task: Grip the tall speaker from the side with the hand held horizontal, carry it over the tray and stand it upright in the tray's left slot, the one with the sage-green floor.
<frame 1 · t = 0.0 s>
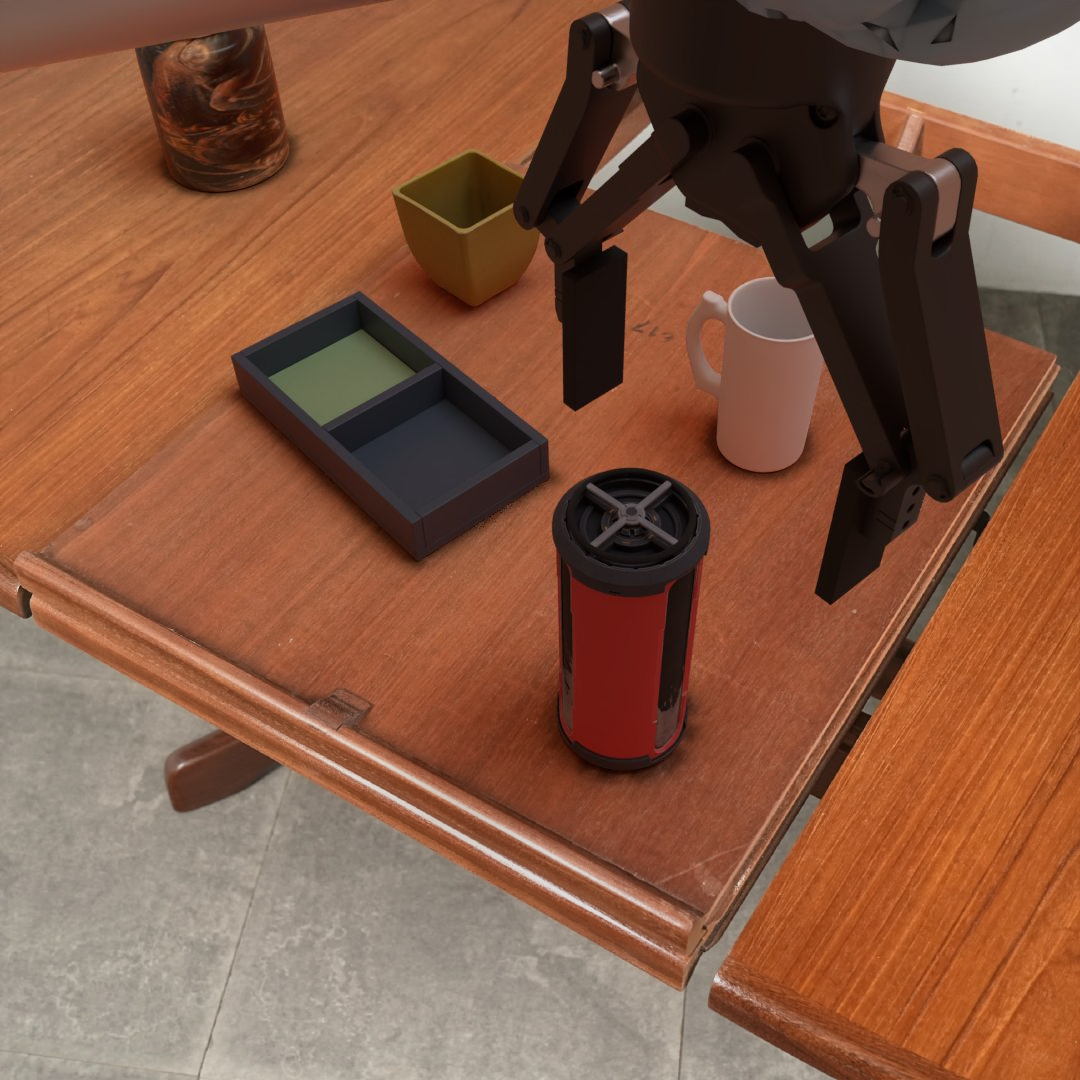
hand: (710, 480, 47), 27 cm above the table, tool pointing down, fingers open, 13 cm apart
tray: (389, 434, 88), on the table
jar: (229, 159, 114), on the table
speaker: (621, 719, 71), on the table
mug: (739, 435, 87), on the table
flower pot: (475, 285, 100), on the table
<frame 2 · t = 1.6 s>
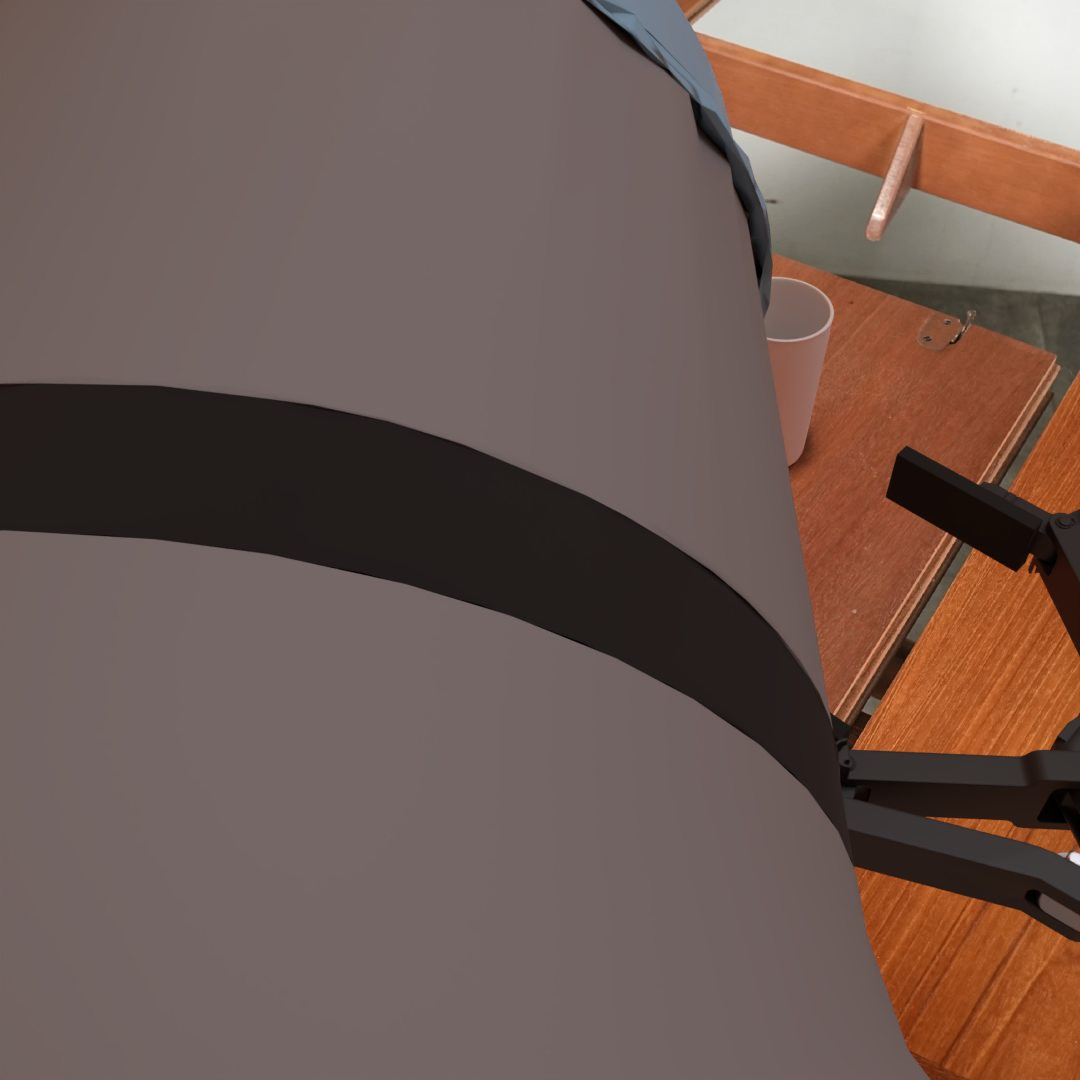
hand: (803, 557, 50), 22 cm above the table, tool horizontal, fingers open, 13 cm apart
nothing on the table moved.
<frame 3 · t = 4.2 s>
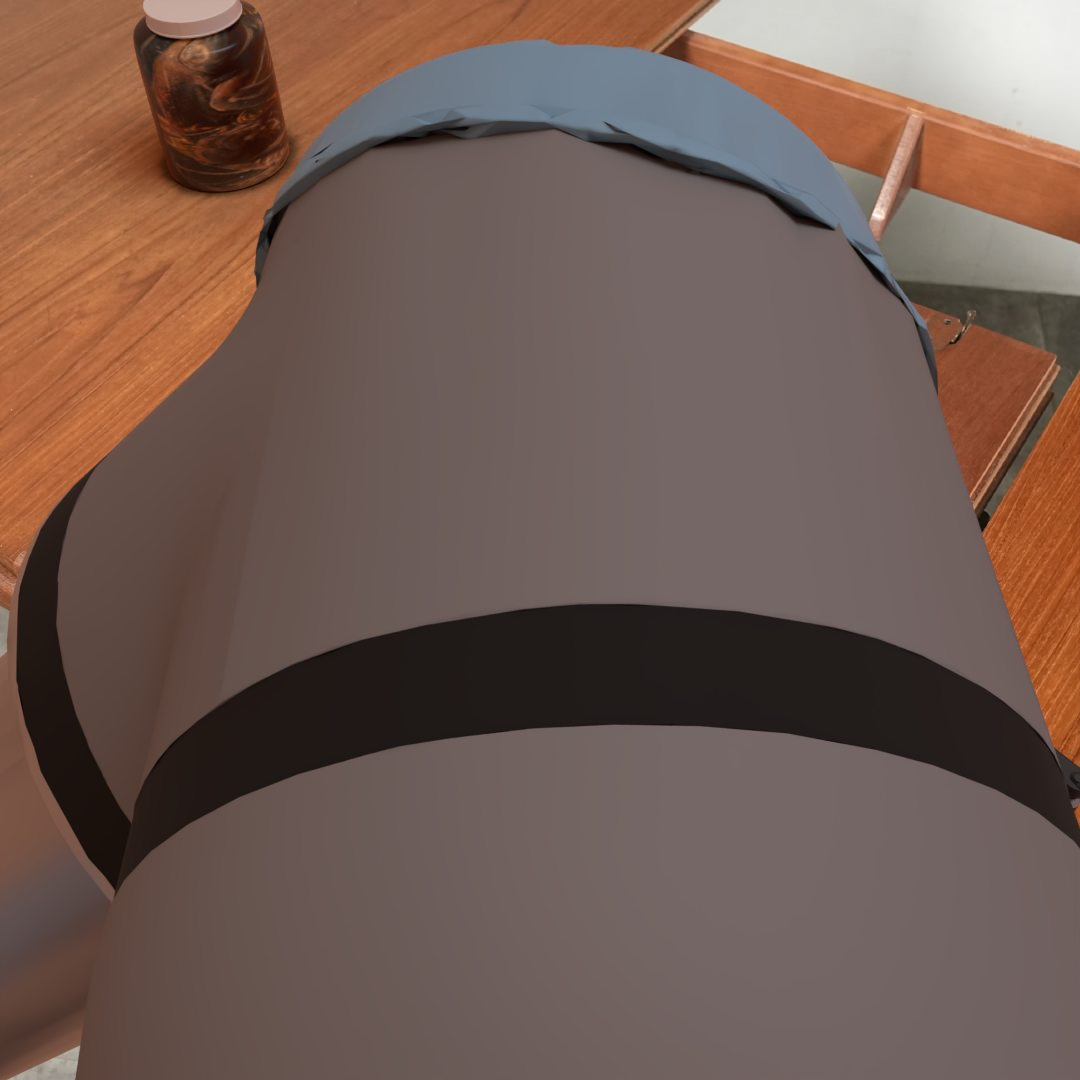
hand: (718, 678, 61), 10 cm above the table, tool horizontal, fingers open, 13 cm apart
nothing on the table moved.
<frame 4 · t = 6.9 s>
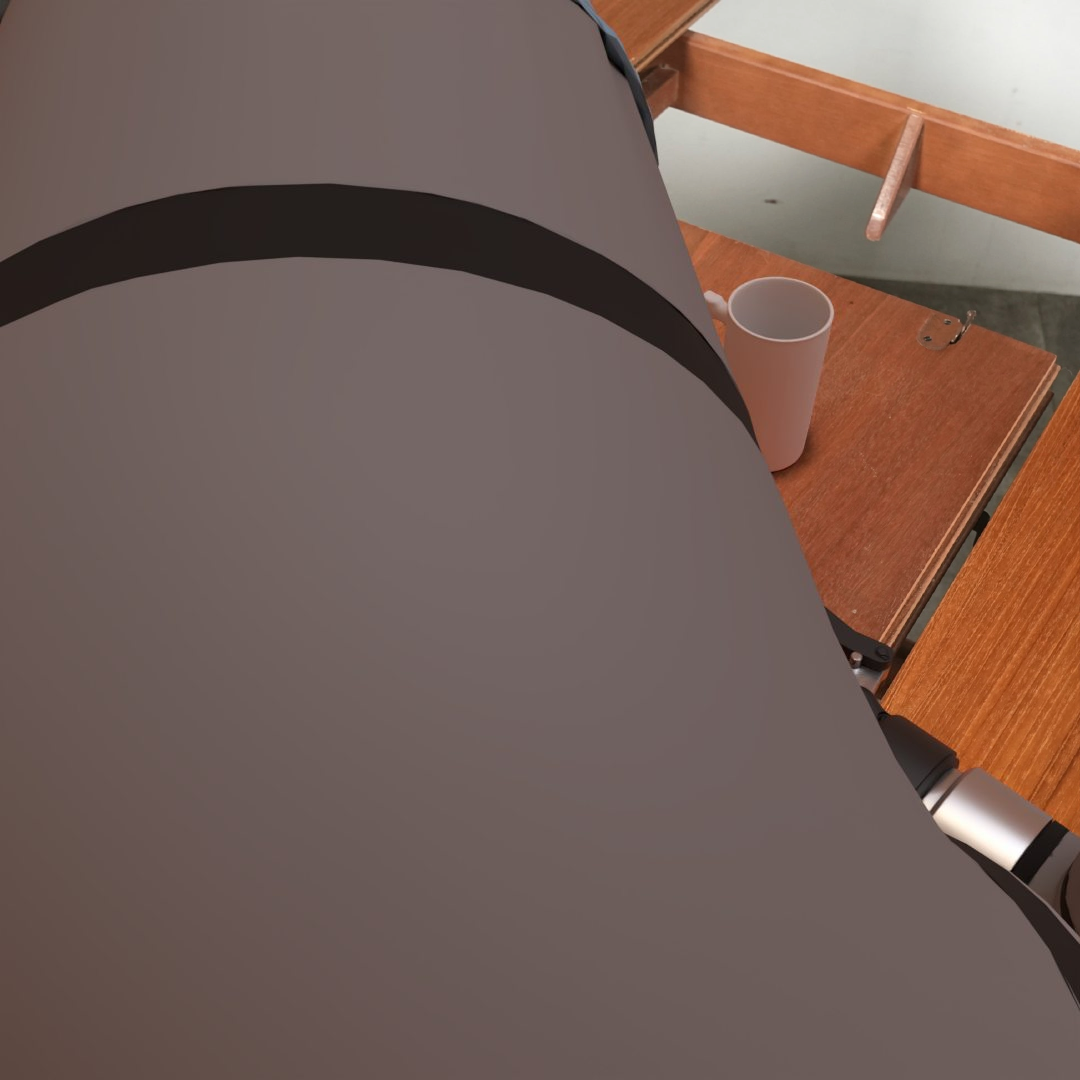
hand: (560, 565, 66), 10 cm above the table, tool horizontal, fingers closed on speaker, 7 cm apart
speaker: (621, 719, 71), on the table, touching gripper
everything else where it was.
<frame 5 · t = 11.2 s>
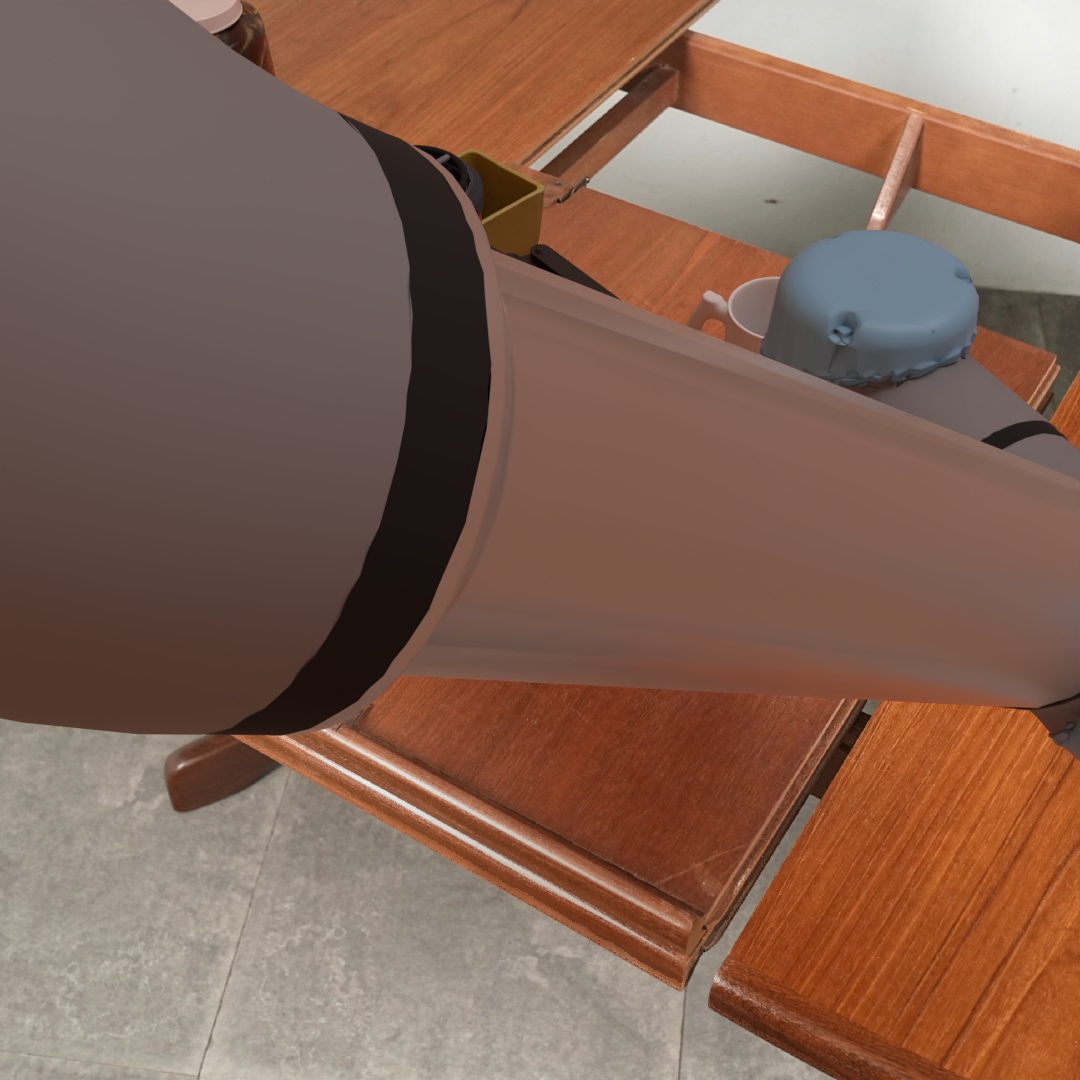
hand: (369, 263, 72), 18 cm above the table, tool horizontal, fingers closed on speaker, 7 cm apart
speaker: (438, 427, 77), point 8 cm above the table, touching gripper
everything else where it was.
when the fingers open (11 cm above the table, at t = 15.4 s): speaker stays where it is, resting on tray.
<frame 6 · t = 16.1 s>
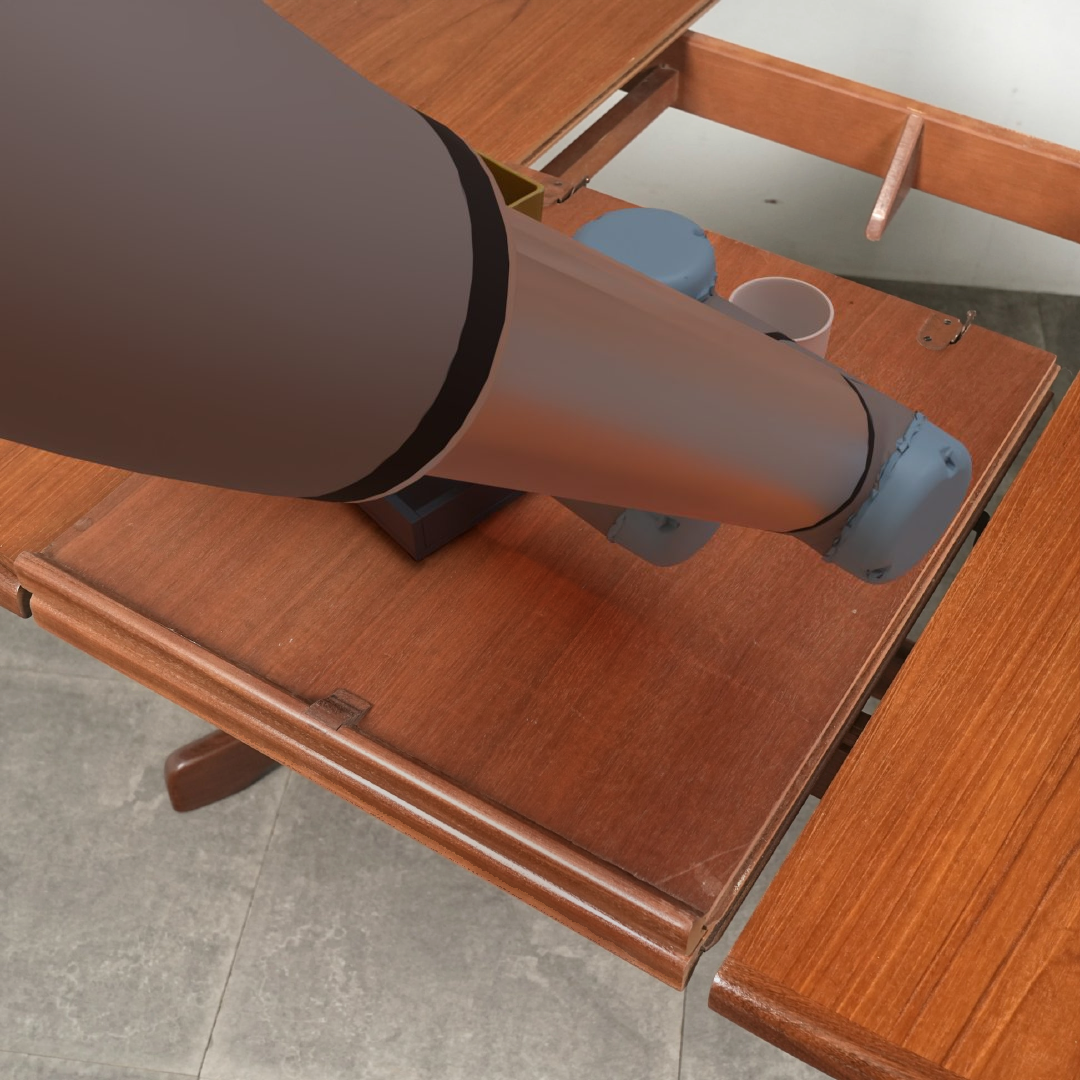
hand: (293, 254, 84), 11 cm above the table, tool horizontal, fingers open, 13 cm apart
speaker: (345, 389, 90), point 1 cm above the table, touching tray
everything else where it was.
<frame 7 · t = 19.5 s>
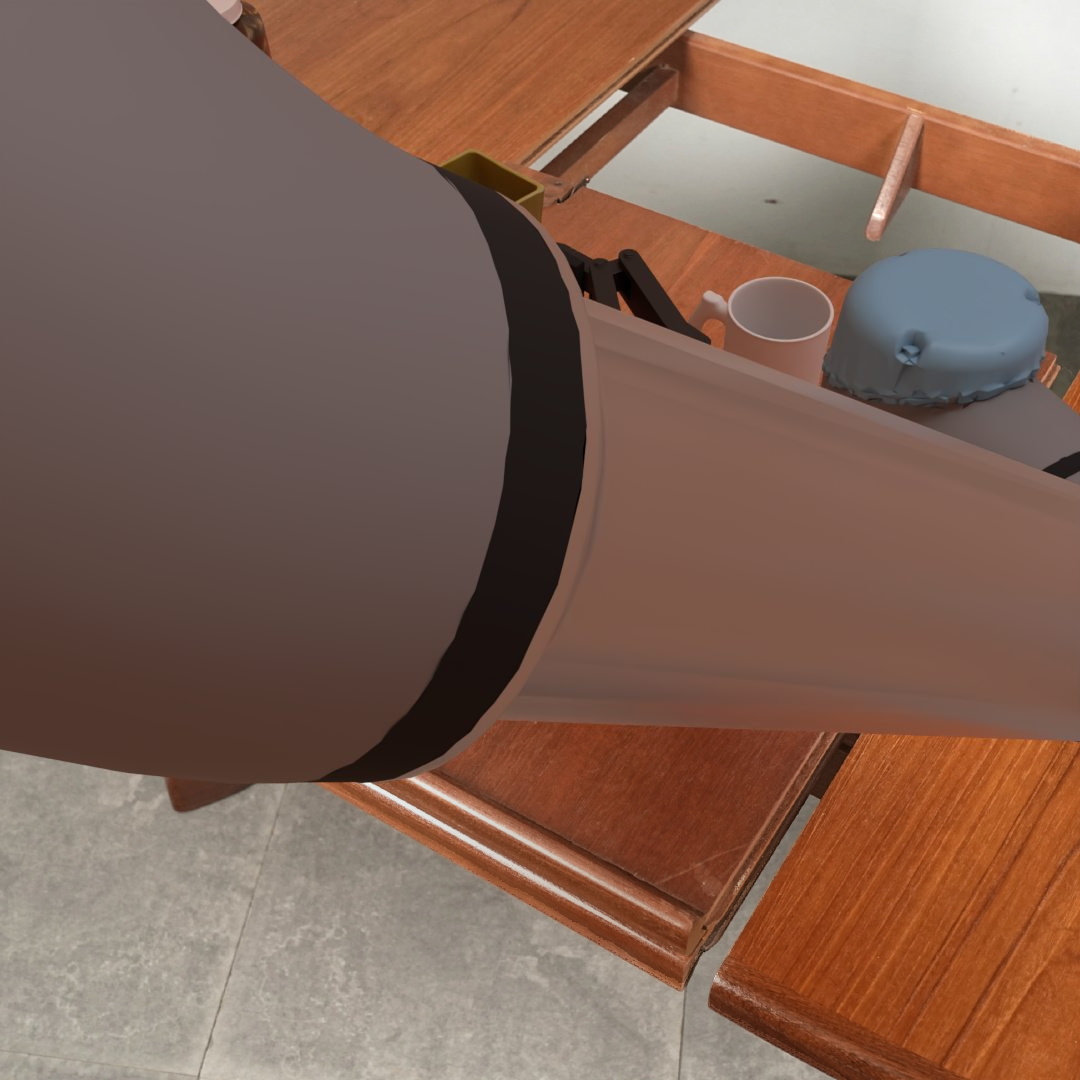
hand: (417, 289, 70), 18 cm above the table, tool horizontal, fingers open, 13 cm apart
nothing on the table moved.
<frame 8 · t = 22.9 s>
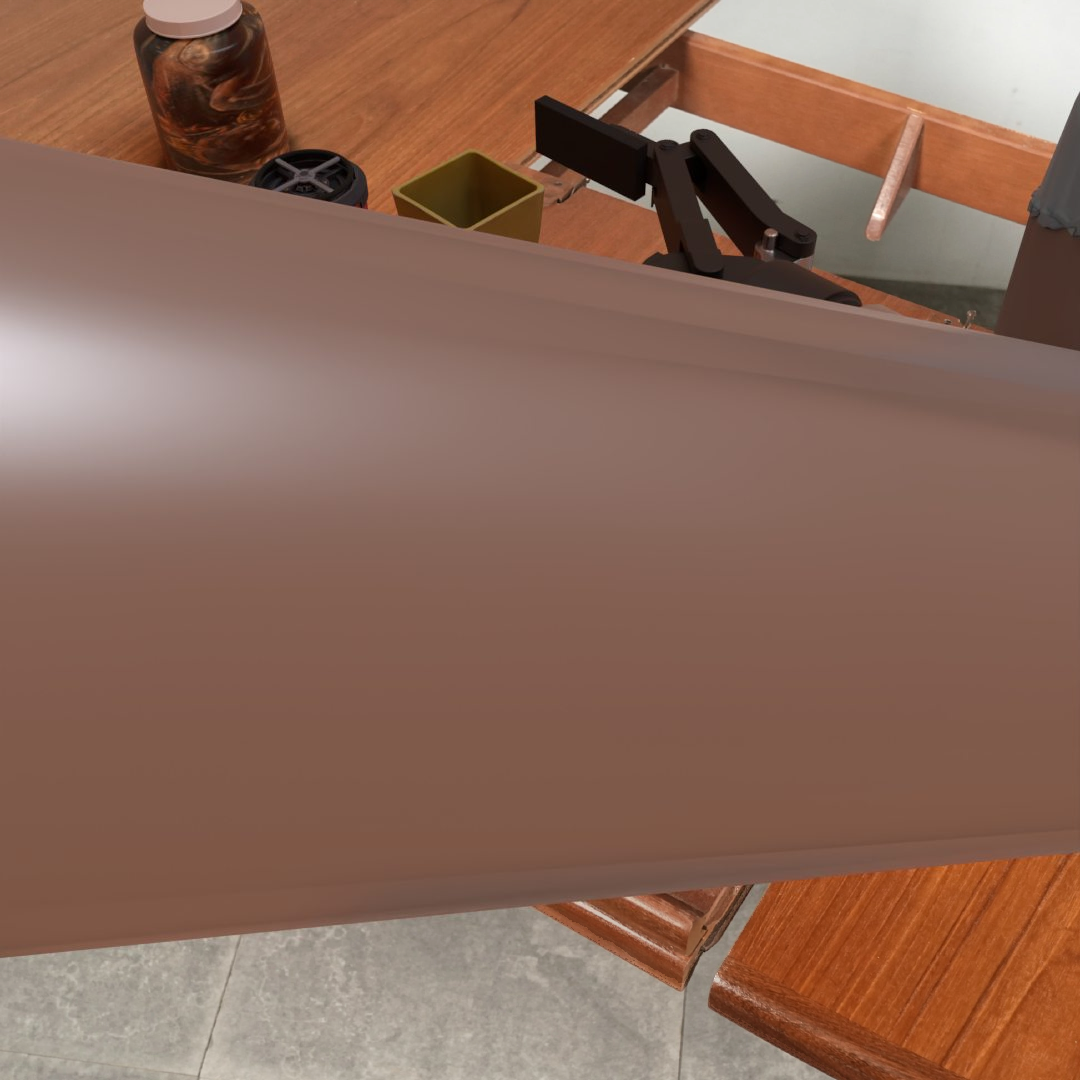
hand: (436, 180, 55), 30 cm above the table, tool horizontal, fingers open, 13 cm apart
nothing on the table moved.
at the end: speaker inside the target area in the tray (0.1 cm from its centre), point 0.8 cm above the tray's base; speaker tilted 0°; the gripper is holding nothing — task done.
